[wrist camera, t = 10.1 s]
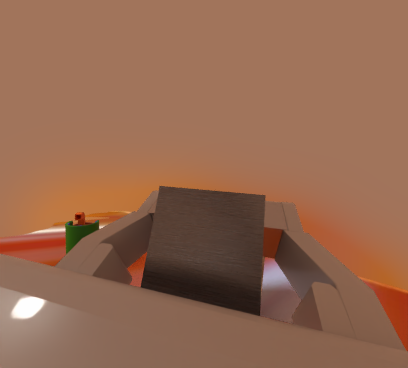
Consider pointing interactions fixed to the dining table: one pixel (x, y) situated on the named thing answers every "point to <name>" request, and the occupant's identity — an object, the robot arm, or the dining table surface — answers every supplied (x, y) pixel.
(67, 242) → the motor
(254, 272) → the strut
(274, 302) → the dining table surface
